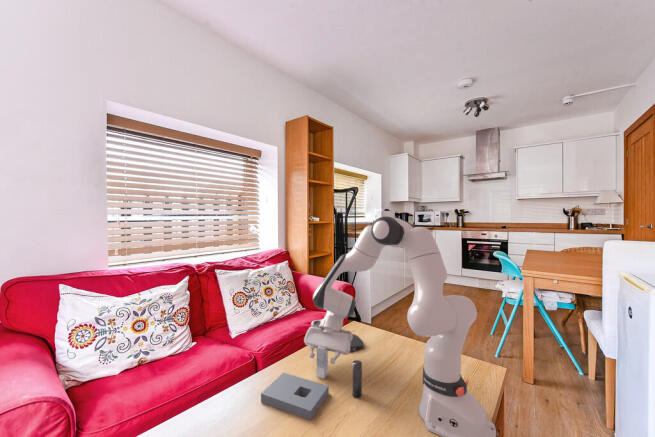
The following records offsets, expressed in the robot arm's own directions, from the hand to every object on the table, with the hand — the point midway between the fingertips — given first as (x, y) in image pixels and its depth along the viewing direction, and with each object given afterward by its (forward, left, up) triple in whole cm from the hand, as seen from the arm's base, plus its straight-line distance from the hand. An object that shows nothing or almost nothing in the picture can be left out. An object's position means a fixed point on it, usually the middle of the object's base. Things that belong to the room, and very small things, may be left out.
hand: (321, 360), depth 112 cm
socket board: (-2, +16, -7) cm, 17 cm away
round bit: (-17, -1, -7) cm, 19 cm away
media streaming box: (+11, -27, -7) cm, 30 cm away
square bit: (0, 0, -7) cm, 7 cm away
